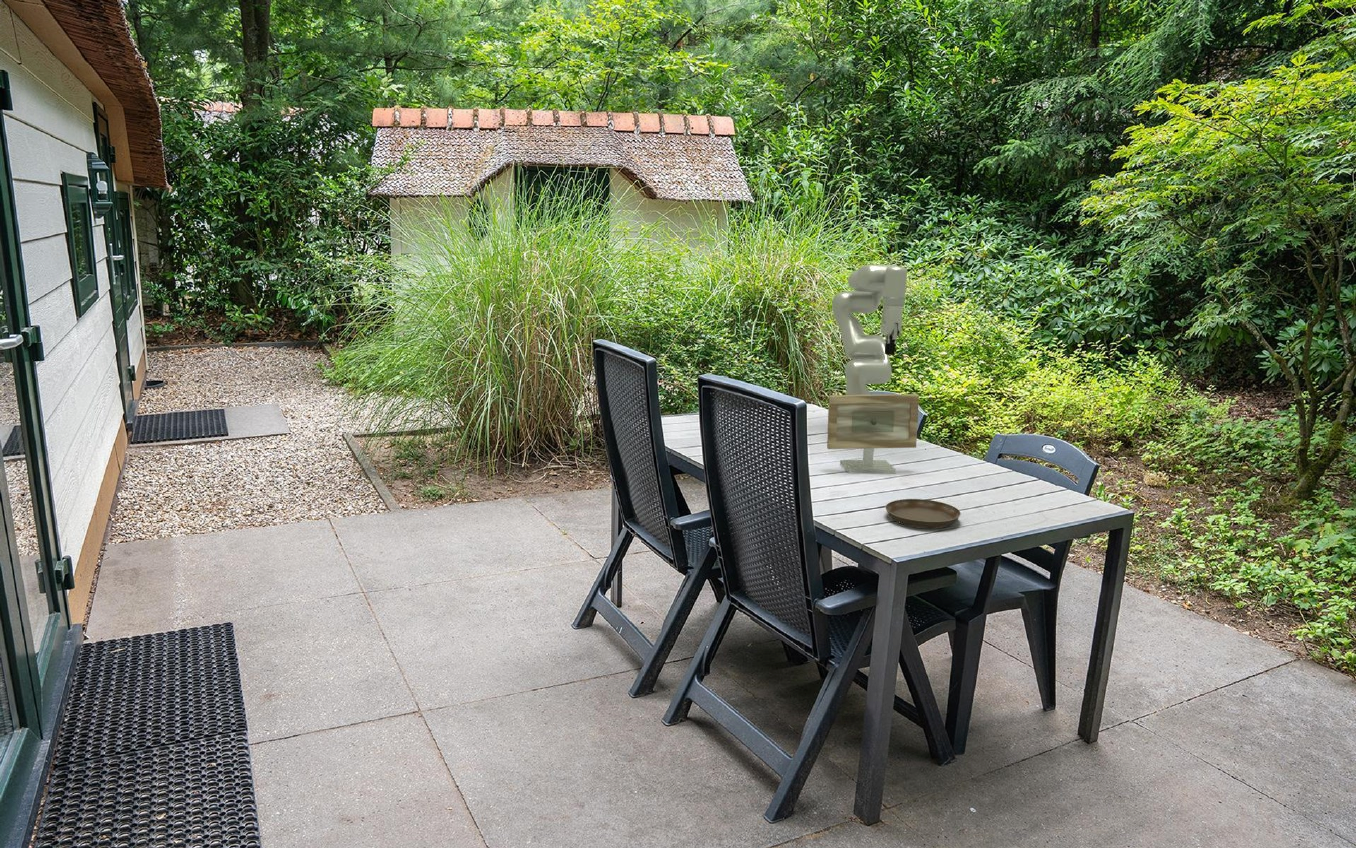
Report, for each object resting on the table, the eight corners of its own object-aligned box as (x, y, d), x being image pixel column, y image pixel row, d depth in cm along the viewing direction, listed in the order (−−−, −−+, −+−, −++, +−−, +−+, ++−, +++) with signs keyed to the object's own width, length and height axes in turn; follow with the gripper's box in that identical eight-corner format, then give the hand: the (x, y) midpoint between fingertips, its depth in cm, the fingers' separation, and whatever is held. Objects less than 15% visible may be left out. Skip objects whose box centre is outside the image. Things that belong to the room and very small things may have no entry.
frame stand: (840, 464, 325) (843, 413, 321) (885, 464, 326) (889, 414, 322) (848, 473, 313) (852, 420, 309) (895, 473, 314) (899, 421, 310)
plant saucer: (914, 535, 252) (916, 523, 251) (870, 513, 270) (871, 502, 270) (975, 527, 260) (976, 516, 260) (927, 506, 279) (928, 495, 278)
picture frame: (827, 447, 315) (828, 395, 311) (914, 446, 317) (917, 394, 313) (828, 449, 313) (830, 396, 309) (916, 448, 315) (919, 395, 311)
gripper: (877, 300, 332) (873, 351, 336) (889, 303, 318) (885, 357, 322) (897, 300, 333) (893, 351, 337) (910, 304, 318) (906, 357, 322)
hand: (889, 354), depth 329 cm, fingers closed
